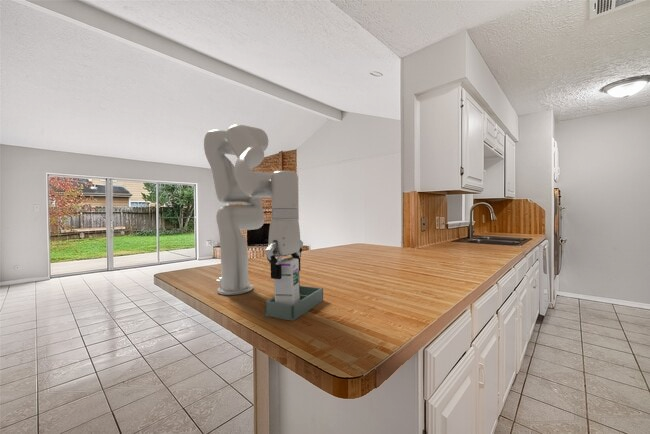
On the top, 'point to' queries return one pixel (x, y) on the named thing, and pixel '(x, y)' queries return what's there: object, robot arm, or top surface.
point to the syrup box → (288, 282)
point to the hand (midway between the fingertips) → (286, 274)
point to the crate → (292, 312)
